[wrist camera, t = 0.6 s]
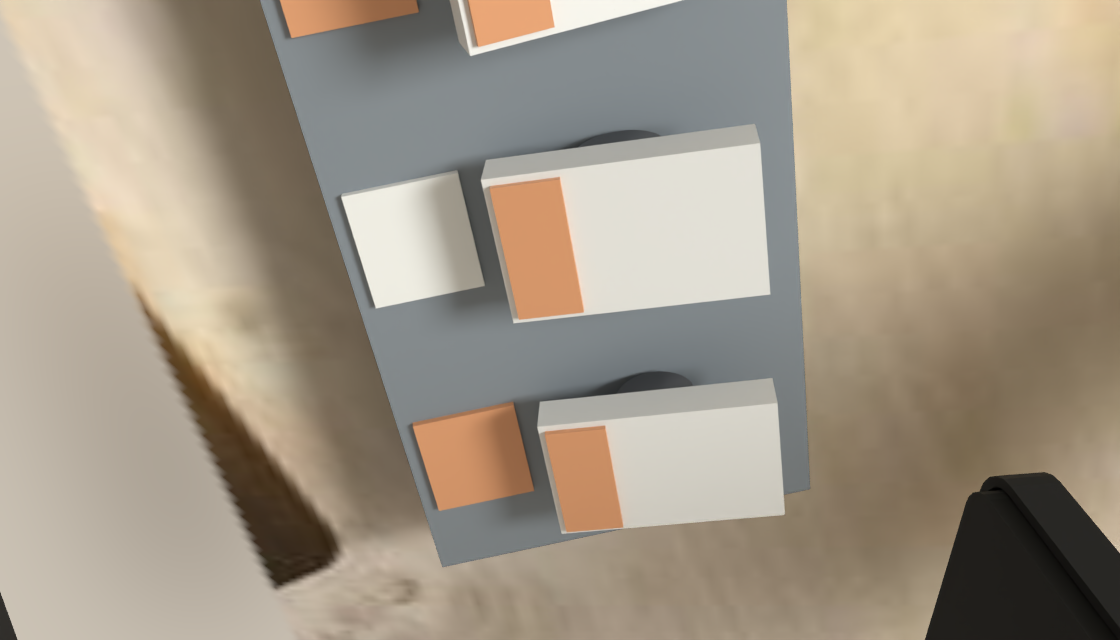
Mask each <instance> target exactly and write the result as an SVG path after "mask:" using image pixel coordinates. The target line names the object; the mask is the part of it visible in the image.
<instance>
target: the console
mask: <svg viewBox="0 0 1120 640" xmlns="http://www.w3.org/2000/svg"><path fill="white" fill-rule="evenodd" d="M260 2H261V5H262V8H263V12H264V15H265V18H266V21H267V24H268V27H269V30H270V33H271V36H272V39H273V43H274V46H275V49H276V52H277V55H278V58H279V61H280V64H281V67H282V71H283V74H284V77H285V80H286V83H287V86H288V89H289V92H290V95H291V98H292V102H293V105H294V108H295V111H296V114H297V117H298V120H299V123H300V126H301V130H302V133H303V136H304V139H305V142H306V145H307V148H308V151H309V154H310V157H311V161H312V164H313V167H314V170H315V173H316V176H317V179H318V182H319V185H320V188H321V192H322V195H323V198H324V201H325V204H326V207H327V210H328V213H329V216H330V220H331V223H332V226H333V229H334V232H335V235H336V238H337V241H338V244H339V247H340V251H341V254H342V257H343V260H344V263H345V266H346V269H347V272H348V275H349V279H350V282H351V285H352V288H353V291H354V294H355V297H356V300H357V303H358V306H359V310H360V313H361V316H362V319H363V322H364V325H365V328H366V331H367V334H368V338H369V341H370V344H371V347H372V350H373V353H374V356H375V359H376V362H377V365H378V369H379V372H380V375H381V378H382V381H383V384H384V387H385V390H386V393H387V396H388V400H389V403H390V406H391V409H392V412H393V415H394V418H395V421H396V424H397V428H398V431H399V434H400V437H401V440H402V443H403V446H404V449H405V452H406V455H407V459H408V462H409V465H410V468H411V471H412V474H413V477H414V480H415V483H416V487H417V490H418V493H419V496H420V499H421V502H422V505H423V508H424V511H425V514H426V518H427V521H428V524H429V527H430V530H431V533H432V536H433V539H434V542H435V545H436V549H437V552H438V555H439V558H440V561H441V564H442V567H446V566H450V565H455V564H460V563H465V562H469V561H474V560H479V559H483V558H488V557H493V556H498V555H502V554H507V553H512V552H516V551H521V550H526V549H531V548H535V547H540V546H545V545H549V544H554V543H559V542H564V541H568V540H573V539H578V538H582V537H587V536H592V535H596V534H601V533H606V532H611V531H615V530H620V529H613V530H601V531H589V532H577V533H566V534H562V533H561V529H560V524H559V520H558V516H557V511H556V507H555V503H554V498H553V494H552V489H551V485H550V481H549V476H548V472H547V468H546V463H545V459H544V454H543V450H542V446H541V441H540V437H539V433H538V428H537V424H538V415H539V405H540V402H543V401H552V400H562V399H572V398H582V397H592V396H601V395H611V394H617V392H618V390H619V389H620V387H621V386H622V385H623V384H624V383H626V382H627V381H628V380H630V379H632V378H634V377H636V376H638V375H641V374H645V373H649V372H658V371H664V372H672V373H676V374H679V375H682V376H684V377H685V378H687V379H688V380H689V381H690V382H691V383H692V384H693V386H699V385H709V384H719V383H729V382H738V381H748V380H758V379H768V378H773V383H774V388H775V393H776V398H777V403H778V418H779V433H780V448H781V463H782V478H783V492H784V495H785V494H790V493H794V492H799V491H804V490H808V489H810V476H809V455H808V434H807V413H806V392H805V372H804V351H803V330H802V309H801V289H800V268H799V247H798V226H797V205H796V185H795V164H794V143H793V122H792V102H791V81H790V60H789V39H788V18H787V0H682V1H678V2H674V3H670V4H667V5H663V6H659V7H655V8H651V9H648V10H644V11H640V12H636V13H632V14H629V15H625V16H621V17H617V18H613V19H610V20H606V21H602V22H598V23H594V24H591V25H587V26H583V27H579V28H575V29H571V30H568V31H564V32H560V33H556V34H552V35H549V36H545V37H541V38H537V39H533V40H530V41H526V42H522V43H518V44H514V45H511V46H507V47H503V48H499V49H495V50H492V51H488V52H484V53H480V54H476V55H473V56H470V55H469V54H468V53H467V51H466V50H465V49H464V48H463V47H462V45H461V44H460V43H459V40H458V35H457V31H456V26H455V22H454V17H453V13H452V8H451V4H450V0H260ZM750 124H755V126H756V129H757V133H758V137H759V140H760V147H761V162H762V177H763V192H764V207H765V222H766V237H767V252H768V267H769V282H770V295H762V296H753V297H744V298H735V299H726V300H717V301H708V302H700V303H691V304H682V305H673V306H664V307H655V308H646V309H637V310H629V311H620V312H611V313H602V314H593V315H584V316H575V317H566V318H558V319H549V320H540V321H531V322H522V323H513V319H512V314H511V310H510V305H509V301H508V297H507V292H506V288H505V284H504V279H503V275H502V270H501V266H500V262H499V257H498V253H497V249H496V244H495V240H494V235H493V231H492V227H491V222H490V218H489V214H488V209H487V205H486V200H485V196H484V192H483V187H482V183H481V177H482V173H483V170H484V166H485V162H486V160H489V159H497V158H504V157H511V156H519V155H526V154H534V153H541V152H549V151H556V150H564V149H571V148H578V147H579V146H580V145H581V144H583V143H584V142H586V141H587V140H590V139H592V138H594V137H596V136H599V135H602V134H606V133H610V132H615V131H622V130H644V131H650V132H653V133H656V134H658V135H660V136H668V135H675V134H683V133H690V132H698V131H705V130H712V129H720V128H727V127H735V126H742V125H750ZM624 529H625V528H624Z"/></svg>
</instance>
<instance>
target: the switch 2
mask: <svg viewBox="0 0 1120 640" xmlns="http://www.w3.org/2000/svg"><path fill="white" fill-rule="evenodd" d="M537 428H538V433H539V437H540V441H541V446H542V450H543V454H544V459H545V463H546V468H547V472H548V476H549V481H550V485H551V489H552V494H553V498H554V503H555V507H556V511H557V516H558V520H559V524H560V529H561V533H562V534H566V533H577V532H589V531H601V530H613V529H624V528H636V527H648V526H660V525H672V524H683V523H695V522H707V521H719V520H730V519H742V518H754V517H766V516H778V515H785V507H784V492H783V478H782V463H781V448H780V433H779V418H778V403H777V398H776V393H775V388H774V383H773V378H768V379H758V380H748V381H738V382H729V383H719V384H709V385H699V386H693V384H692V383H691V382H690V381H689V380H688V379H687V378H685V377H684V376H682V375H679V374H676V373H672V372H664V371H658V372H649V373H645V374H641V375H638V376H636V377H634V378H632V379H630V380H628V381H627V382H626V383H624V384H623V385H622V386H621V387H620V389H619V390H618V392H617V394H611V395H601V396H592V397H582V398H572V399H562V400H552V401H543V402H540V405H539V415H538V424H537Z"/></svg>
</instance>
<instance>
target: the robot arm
mask: <svg viewBox="0 0 1120 640" xmlns="http://www.w3.org/2000/svg"><path fill="white" fill-rule="evenodd" d="M0 640H17V637H16V634H15V632H14V629H13V626H12V623H11V621H10V618H9V615H8V612H7V610H6V607H5V604H4V601H3V599H2V596H1V593H0ZM925 640H1120V553H1119V552H1118V551H1117V549H1116V548H1115V547H1114V546H1113V545H1112V543H1111V542H1110V541H1109V540H1108V539H1107V537H1106V536H1105V535H1104V534H1103V533H1102V531H1101V530H1100V529H1099V528H1098V527H1097V525H1096V524H1095V523H1094V522H1093V521H1092V519H1091V518H1090V517H1089V516H1088V515H1087V513H1086V512H1085V511H1084V510H1083V509H1082V507H1081V506H1080V505H1079V504H1078V503H1077V502H1076V500H1075V499H1074V498H1073V497H1072V496H1071V494H1070V493H1069V492H1068V491H1067V490H1066V488H1065V487H1064V486H1063V485H1062V484H1061V482H1060V481H1059V480H1057V479H1056V478H1055V477H1054V476H1053V475H1051V474H1048V473H1045V472H1042V473H1029V474H1016V475H1004V476H994V477H989V478H988V479H987V480H986V481H985V482H984V483H983V485H982V487H981V489H980V492H974V493H972V494H971V495H970V496H969V498H968V500H967V502H966V505H965V508H964V512H963V515H962V518H961V522H960V525H959V528H958V532H957V535H956V538H955V542H954V545H953V548H952V552H951V555H950V558H949V562H948V565H947V568H946V572H945V575H944V578H943V582H942V585H941V588H940V591H939V595H938V598H937V601H936V605H935V608H934V611H933V615H932V618H931V621H930V625H929V628H928V631H927V635H926V638H925Z"/></svg>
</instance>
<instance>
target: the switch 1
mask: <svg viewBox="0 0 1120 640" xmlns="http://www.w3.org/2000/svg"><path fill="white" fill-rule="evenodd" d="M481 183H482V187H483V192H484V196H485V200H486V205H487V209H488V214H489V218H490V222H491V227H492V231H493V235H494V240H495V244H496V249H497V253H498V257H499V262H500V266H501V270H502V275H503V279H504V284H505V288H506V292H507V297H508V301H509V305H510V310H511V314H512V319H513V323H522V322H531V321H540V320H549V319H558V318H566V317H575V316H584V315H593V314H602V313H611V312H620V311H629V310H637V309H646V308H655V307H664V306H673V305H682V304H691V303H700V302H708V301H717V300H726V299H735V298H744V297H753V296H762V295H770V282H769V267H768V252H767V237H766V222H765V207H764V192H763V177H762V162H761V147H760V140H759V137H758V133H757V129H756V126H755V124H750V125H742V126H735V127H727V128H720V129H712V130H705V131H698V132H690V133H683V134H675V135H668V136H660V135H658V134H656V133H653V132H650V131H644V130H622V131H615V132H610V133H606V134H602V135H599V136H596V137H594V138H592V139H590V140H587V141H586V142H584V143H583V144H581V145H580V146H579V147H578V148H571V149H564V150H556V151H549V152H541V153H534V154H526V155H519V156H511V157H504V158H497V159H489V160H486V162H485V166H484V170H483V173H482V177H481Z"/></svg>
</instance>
